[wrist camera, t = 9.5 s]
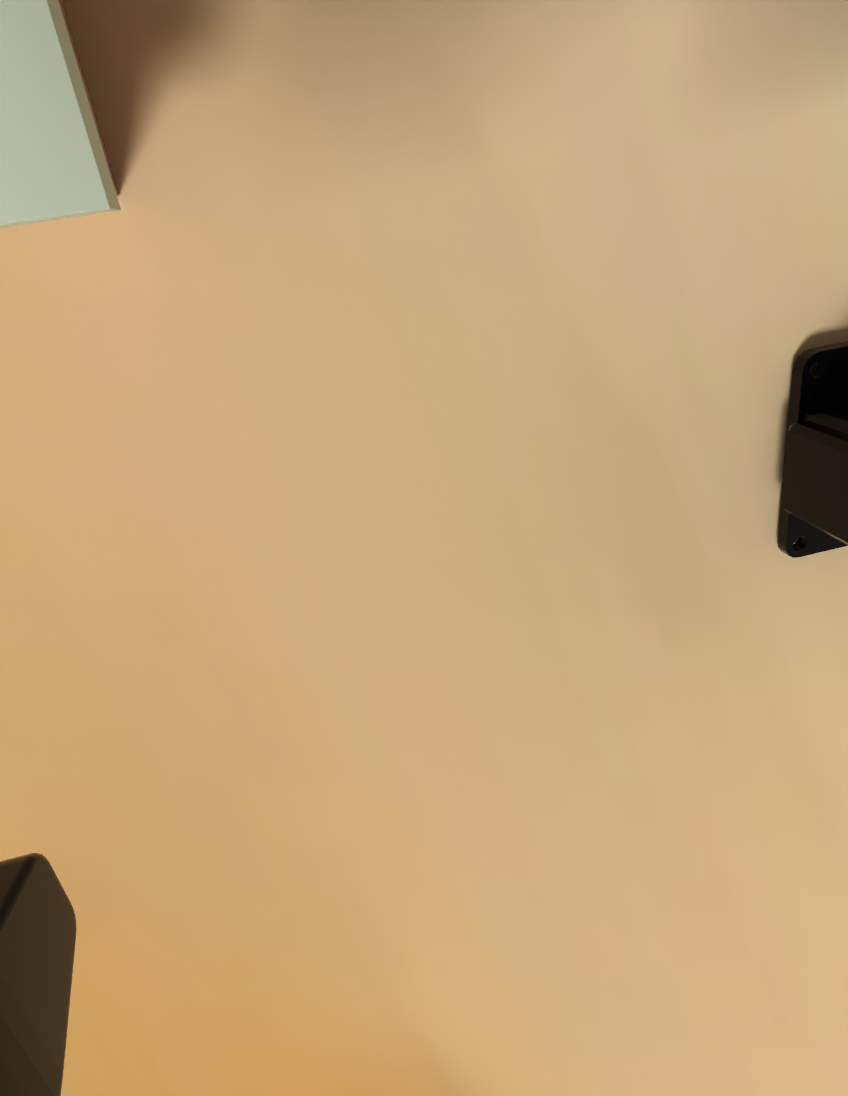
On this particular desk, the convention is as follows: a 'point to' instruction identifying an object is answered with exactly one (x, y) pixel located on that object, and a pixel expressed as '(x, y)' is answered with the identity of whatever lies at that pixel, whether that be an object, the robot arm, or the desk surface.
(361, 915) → the desk surface
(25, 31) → the lid
